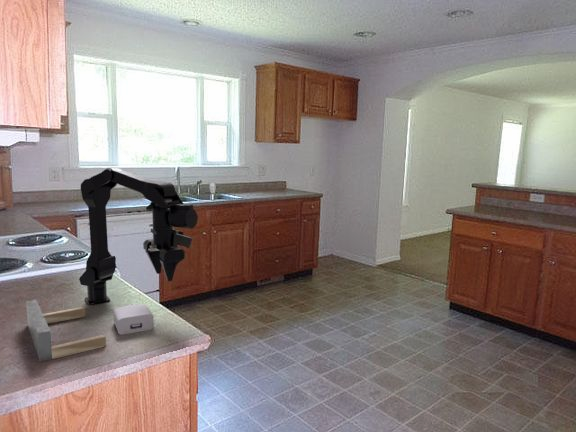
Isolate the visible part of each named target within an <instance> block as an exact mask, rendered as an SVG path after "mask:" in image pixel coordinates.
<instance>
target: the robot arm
mask: <svg viewBox="0 0 576 432" xmlns="http://www.w3.org/2000/svg"><path fill="white" fill-rule="evenodd" d="M117 185H120V186H122V187H124V188H127V189H130V190H132V191H135V192H137V193H140V194H142V195H143V197H144V198H145V199H146V200H148V201H150V203H149V204H148V205H147V206H145V207H146V208H145V209H146V210H147V211H152V214H151V215H152V228H150V233H152V238H151V239H148V238H147V239H146V240H145V241H144V242H142V243H143V245H142V246H143V250H144V252H145V254H146V255H147V258H149V261H150V263H151V265H152V266H153V269H154V270H155V272H156V274H157V275H158V274H160V275H161V273H162V270H163V272H164V275H165V277H166V280H167V282H172V281H173V279H174V276H175V275H174V274H175V271H176V268H177V266H178V264H179V263H180V262H182V261H184V259H186V251H185V250H184V249H182V248H181V247H185V248H186V249H190V248H191V245H192V242H193V237H190V236H188V235H184V231H182V230H179V229H177V230H176V229H175V228H180V229H181V228H184V229H194V228H195V227H196V225H197V223H198V219H199V217H198V214H197V210H195V209H194V204H190V203H188V204H184V202H183V200H182V198H181V197H180V196H179V194H178V192H177V191H176V188H175V185H174V184H173V183H171V182H167V181H162V180H150V179H149V178H148V179H147V178H146V177H143V176H139V175H136V174H134V173H131V172H128V171H127V170H123V169H122V168H120V167H107V168H106V169H104V170H102V171H101V172H99V173H98V174H95V175H93V176H91V177H89V178H86V179H84V180H83V181H82V182H81V183H80V193H81V197H82V200H83V202H84V204H85V205H86V206H87V207H88V222H89V240H90V254H89V256H88V257H87V259H86V263H85V264H86V266H85V270H84V272H83V273H82V274H81V275H80V277H78V280H79V283H80V285H82V286H86V288H87V290H86V291H87V292H86V293H87V297H84V300H85V301H86V304H87V305H96V304H101V303H106V302H111V298H109V296H108V294H107V293H108V292H107V281H111V280H113V276H114V274H115V272H116V269H117V264H116V261H117V260H116V255H112V254H111V252H110V251H109V244H108V240H109V239H108V228H107V227H108V225H107V205H108V203H109V201H110V198H111V193H112V191H111V190H113V189H114V188H116V187H117ZM178 246H180V247H178Z"/></svg>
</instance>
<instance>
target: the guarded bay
mask: <svg viewBox="0 0 576 432" xmlns="http://www.w3.org/2000/svg"><path fill="white" fill-rule="evenodd" d="M25 303H26V304H25V306H26V307H25V308H26V317H27V318H26V319H27V328H28V330H29V333H30V336H31V339H32V342H33V346H34V347H35V352H36V354H37V357H38V360H39V362H40V363H41V362H45V361H49V360H54V359H58V358H62V357H67V356H70V355H75V354H79V353H84V352H89V351H91V350H96V349H100V348H103V347H105V348H106V347H107V340H106V339H107V338H106V335H105V334H101V335H96V336H93V337H92V336H91V337H88V338H82V339H79V340H75V341H74V340H73V341H70V342H66V343H65V342H64V343H61V344H55V345H52V337H51V329H50V327H49V325H48V324H53V323H58V322H62V321H63V322H64V321H67V320H68V321H69V320H74V319H78V318H85V317H86V315H87V314H86V307H85V306H79V307H76V308H75V307H74V308H69V309H64V310H58V311H54V312H48V313H43V311H42V309H41V307H40V304H39V302H38V300H37V299H33V300H27V301H25Z"/></svg>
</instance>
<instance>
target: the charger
mask: <svg viewBox="0 0 576 432" xmlns="http://www.w3.org/2000/svg"><path fill="white" fill-rule="evenodd" d="M154 317H155V316H154V314H153V313H152V311H151V310H150V308H149V306H148V305H147V304H145V303H141V304H140V303H139V304H129V305H124V306H119V307H116V308H114V310H113V322H114V323H113V324H114V325H115V327H116V330H117V331H116V332H118V335H121V336H123V335H128V334H132V333H138V332H143V331H144V332H145V331H151V330H153V329H154V328H155V325H154V324H155V320H154Z"/></svg>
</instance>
